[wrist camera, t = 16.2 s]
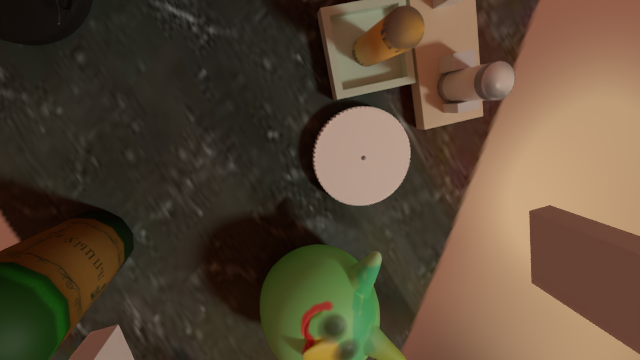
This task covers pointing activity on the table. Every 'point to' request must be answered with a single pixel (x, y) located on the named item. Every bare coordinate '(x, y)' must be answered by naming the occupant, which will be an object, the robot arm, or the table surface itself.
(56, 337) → the bottle
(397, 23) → the cylinder
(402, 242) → the table surface
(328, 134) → the plastic lid
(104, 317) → the table surface
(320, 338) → the toy bird
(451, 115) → the block
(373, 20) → the tray
